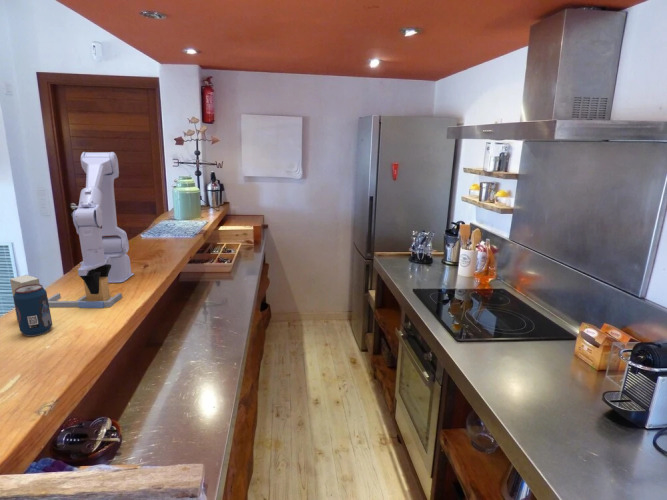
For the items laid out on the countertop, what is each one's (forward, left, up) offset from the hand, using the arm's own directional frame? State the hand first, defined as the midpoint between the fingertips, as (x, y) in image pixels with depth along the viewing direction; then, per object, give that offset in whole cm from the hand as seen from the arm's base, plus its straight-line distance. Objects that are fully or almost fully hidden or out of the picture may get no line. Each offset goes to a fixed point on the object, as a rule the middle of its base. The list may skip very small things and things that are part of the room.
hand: (98, 290), depth 127 cm
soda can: (+21, -6, -4) cm, 22 cm away
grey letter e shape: (+1, -5, -3) cm, 6 cm away
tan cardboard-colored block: (0, 0, -3) cm, 3 cm away
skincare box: (+14, -12, -4) cm, 18 cm away
